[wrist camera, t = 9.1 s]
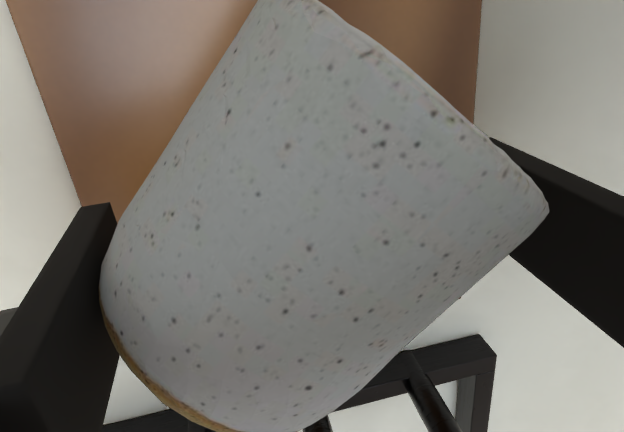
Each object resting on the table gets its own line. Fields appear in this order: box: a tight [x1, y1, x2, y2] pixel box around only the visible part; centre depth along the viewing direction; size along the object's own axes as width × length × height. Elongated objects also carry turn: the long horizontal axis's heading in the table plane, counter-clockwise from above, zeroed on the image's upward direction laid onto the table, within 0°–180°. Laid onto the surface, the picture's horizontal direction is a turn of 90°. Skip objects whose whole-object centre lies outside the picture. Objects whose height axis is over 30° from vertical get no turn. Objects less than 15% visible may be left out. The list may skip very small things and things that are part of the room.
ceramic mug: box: [99, 0, 549, 432], centre depth 11 cm, size 11×8×8 cm
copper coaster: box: [6, 0, 482, 299], centre depth 16 cm, size 14×14×1 cm
